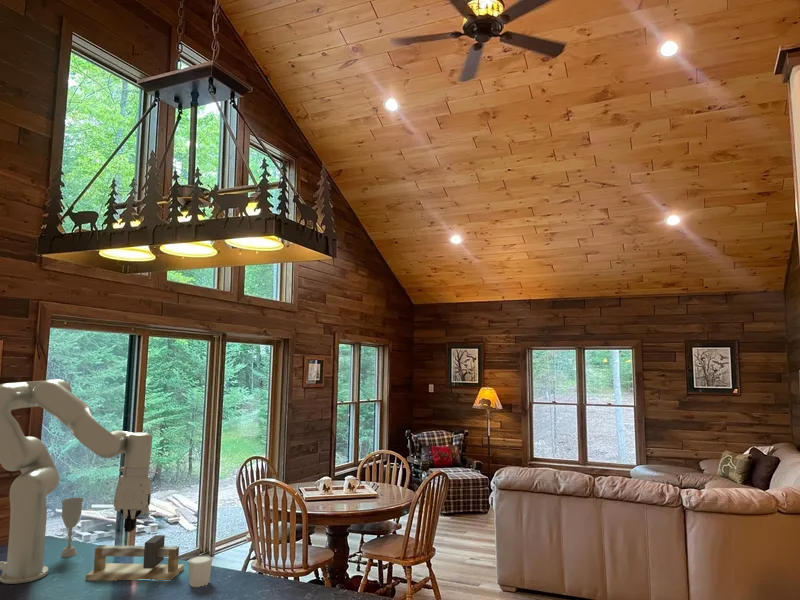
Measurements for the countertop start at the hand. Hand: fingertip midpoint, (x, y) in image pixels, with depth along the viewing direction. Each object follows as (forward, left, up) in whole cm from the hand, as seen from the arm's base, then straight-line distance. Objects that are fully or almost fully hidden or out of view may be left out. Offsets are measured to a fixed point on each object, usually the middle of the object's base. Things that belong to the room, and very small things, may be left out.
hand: (129, 530), depth 183 cm
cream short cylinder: (+26, -9, -13) cm, 30 cm away
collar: (+10, -3, -9) cm, 14 cm away
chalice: (-27, +14, -13) cm, 33 cm away
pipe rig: (+4, -3, -12) cm, 13 cm away
